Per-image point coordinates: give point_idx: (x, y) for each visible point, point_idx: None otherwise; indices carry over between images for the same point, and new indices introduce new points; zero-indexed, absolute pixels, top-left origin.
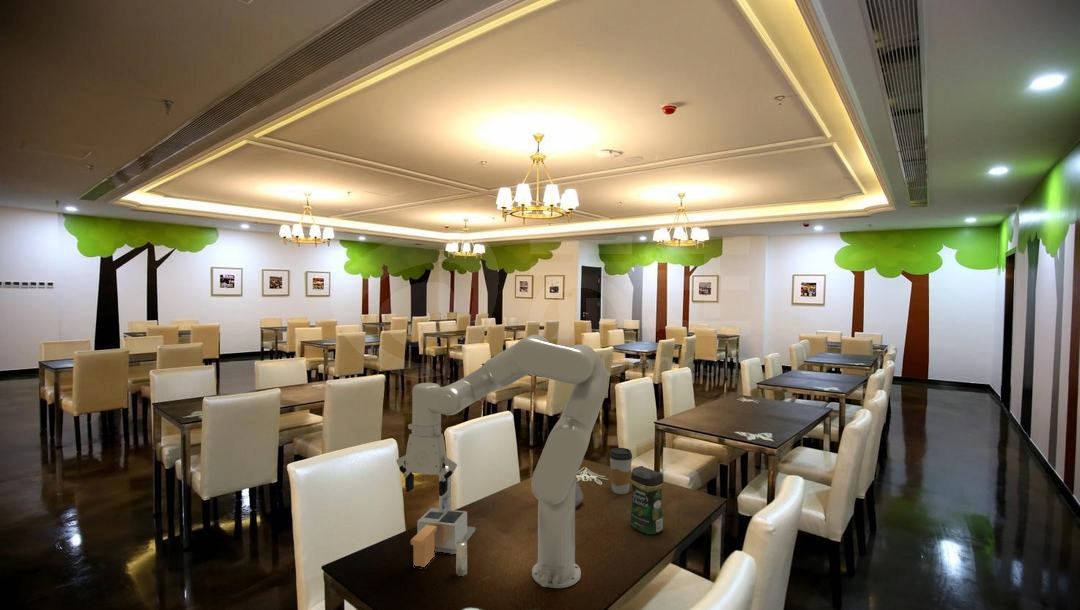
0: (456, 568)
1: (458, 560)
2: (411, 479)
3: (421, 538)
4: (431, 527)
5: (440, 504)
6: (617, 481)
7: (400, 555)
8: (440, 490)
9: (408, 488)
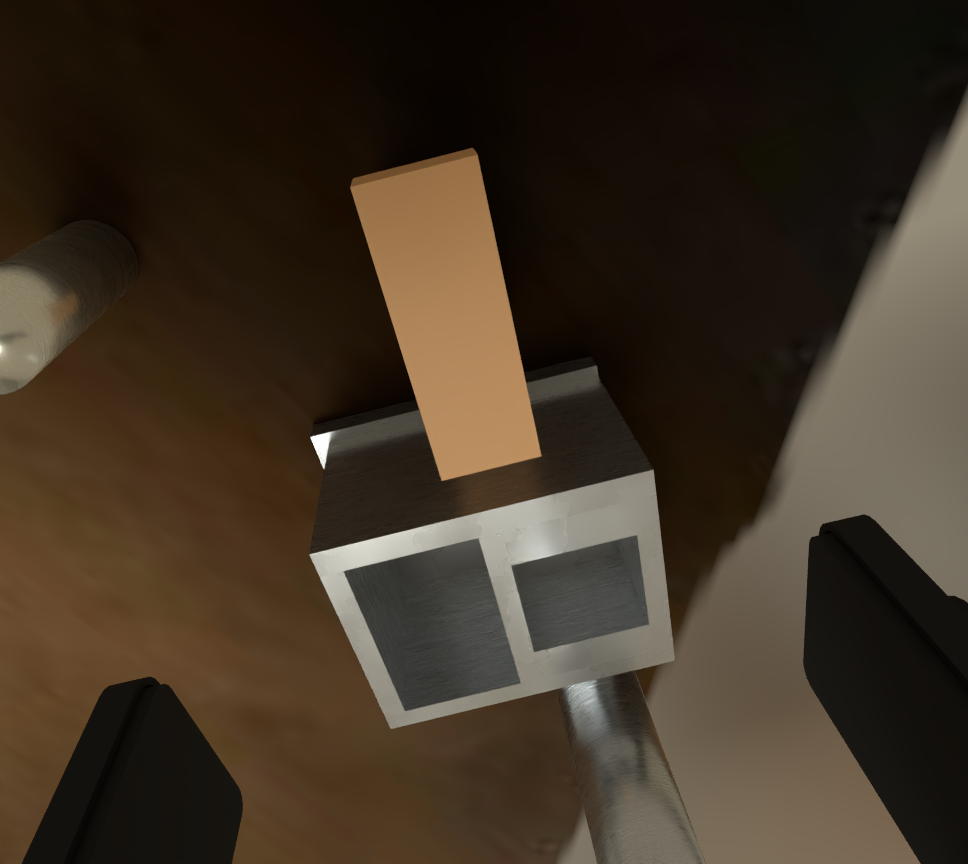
0: (94, 240)
1: (30, 251)
2: (943, 808)
3: (401, 236)
4: (466, 443)
5: (629, 712)
6: None
7: (651, 250)
8: (82, 782)
9: (857, 578)
